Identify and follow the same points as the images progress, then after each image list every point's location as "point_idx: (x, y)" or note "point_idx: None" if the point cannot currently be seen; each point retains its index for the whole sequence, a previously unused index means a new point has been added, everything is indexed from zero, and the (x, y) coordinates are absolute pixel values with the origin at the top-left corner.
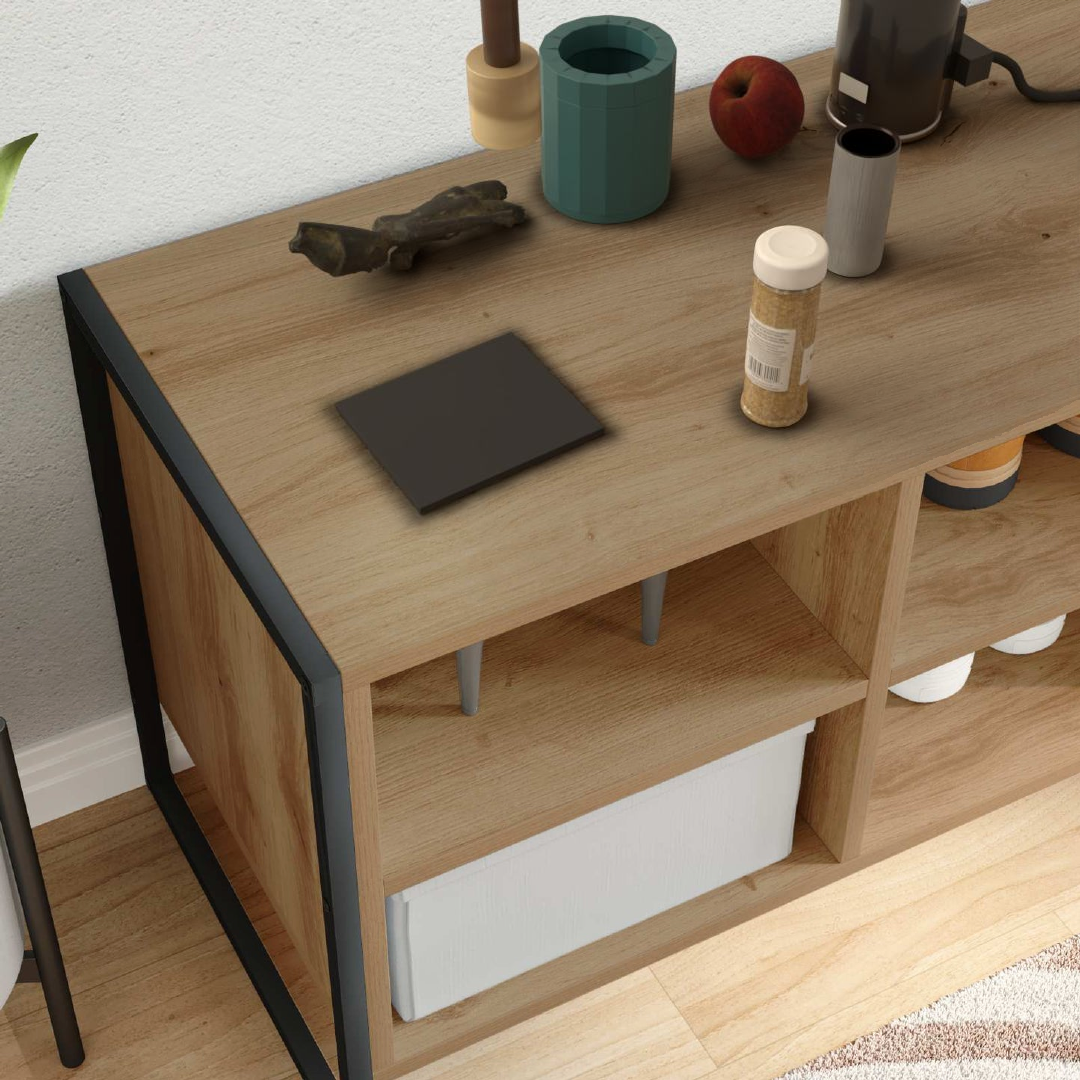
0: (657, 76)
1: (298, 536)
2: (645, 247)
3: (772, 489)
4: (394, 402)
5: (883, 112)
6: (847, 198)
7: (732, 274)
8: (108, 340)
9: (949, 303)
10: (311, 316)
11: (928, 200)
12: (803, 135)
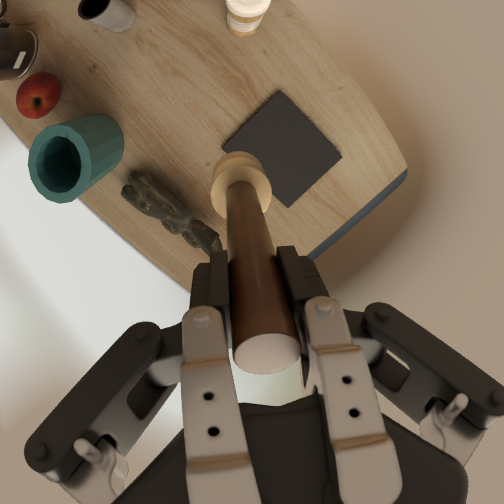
0: (70, 126)
1: (356, 197)
2: (134, 109)
3: (297, 20)
4: (282, 184)
5: (28, 44)
6: (119, 10)
7: (144, 63)
8: None
9: None
10: None
11: (72, 9)
12: None
